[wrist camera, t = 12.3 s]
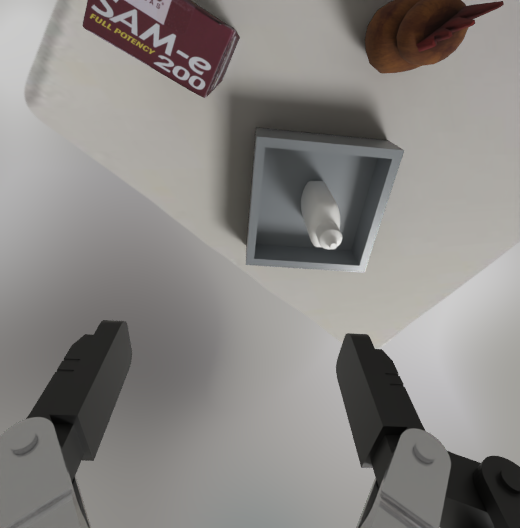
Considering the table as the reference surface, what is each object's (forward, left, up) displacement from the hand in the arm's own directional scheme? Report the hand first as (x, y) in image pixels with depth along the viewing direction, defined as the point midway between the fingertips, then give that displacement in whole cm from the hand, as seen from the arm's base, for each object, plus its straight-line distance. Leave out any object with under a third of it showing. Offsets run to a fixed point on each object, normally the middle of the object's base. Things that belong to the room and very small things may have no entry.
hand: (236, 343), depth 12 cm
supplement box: (-10, -6, -32) cm, 34 cm away
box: (+6, +9, -32) cm, 34 cm away
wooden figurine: (-12, +14, -32) cm, 37 cm away
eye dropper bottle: (+6, +9, -31) cm, 33 cm away
